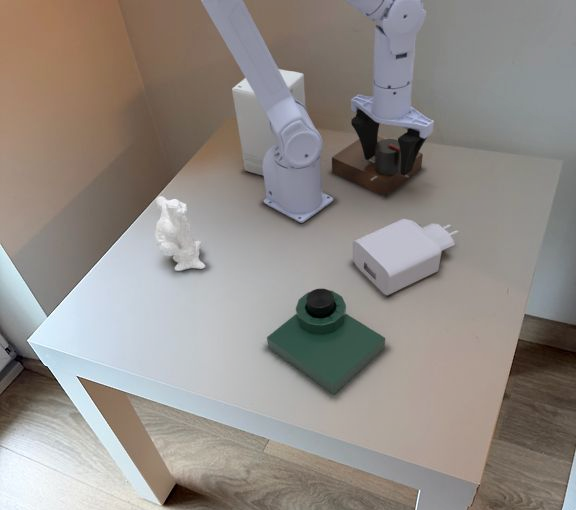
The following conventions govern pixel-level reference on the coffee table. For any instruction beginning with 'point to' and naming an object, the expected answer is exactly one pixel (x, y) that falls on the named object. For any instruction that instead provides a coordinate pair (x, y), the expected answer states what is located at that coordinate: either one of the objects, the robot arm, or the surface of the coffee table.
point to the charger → (401, 253)
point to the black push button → (320, 303)
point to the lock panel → (368, 169)
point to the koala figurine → (176, 235)
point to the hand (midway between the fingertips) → (388, 164)
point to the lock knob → (387, 157)
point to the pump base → (326, 344)
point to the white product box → (259, 120)
